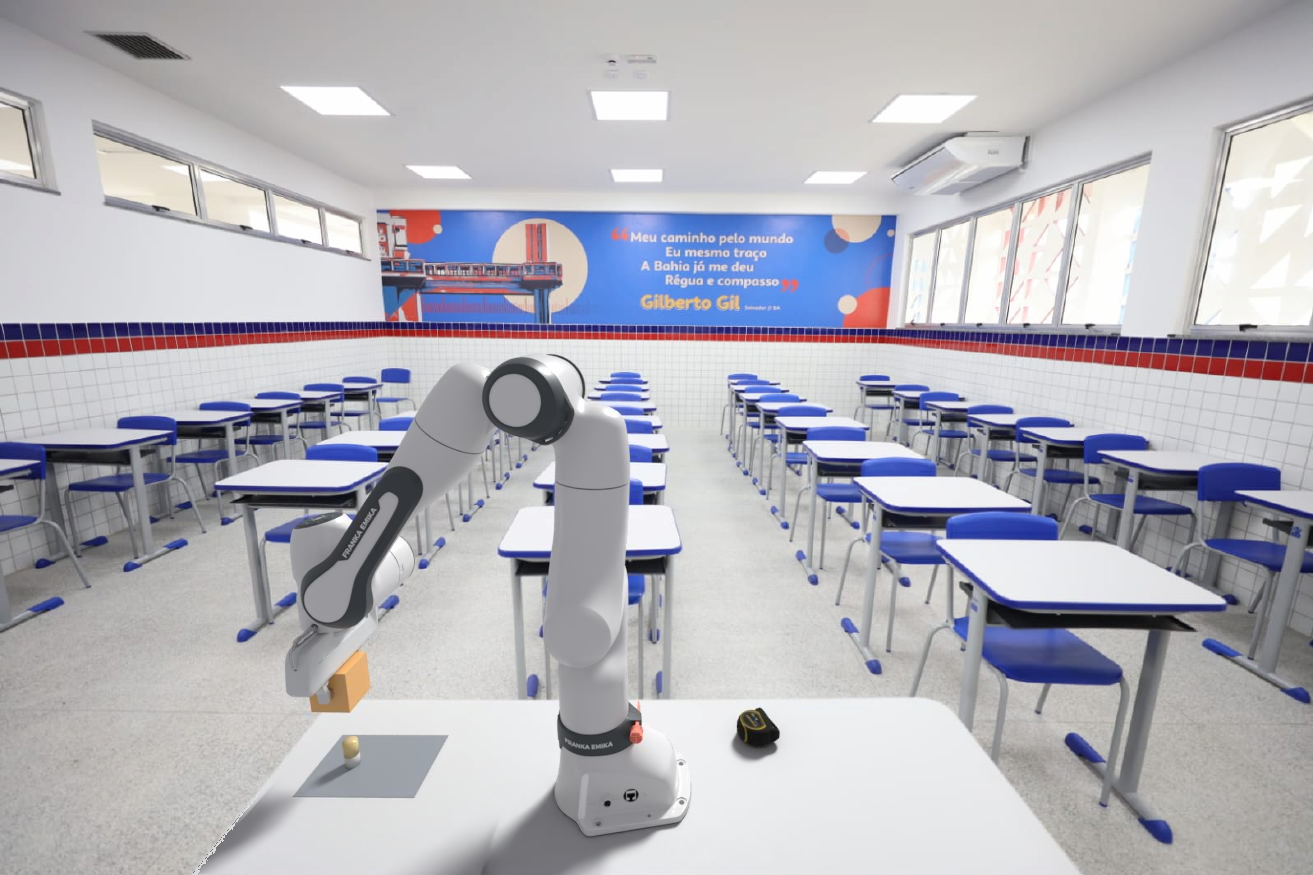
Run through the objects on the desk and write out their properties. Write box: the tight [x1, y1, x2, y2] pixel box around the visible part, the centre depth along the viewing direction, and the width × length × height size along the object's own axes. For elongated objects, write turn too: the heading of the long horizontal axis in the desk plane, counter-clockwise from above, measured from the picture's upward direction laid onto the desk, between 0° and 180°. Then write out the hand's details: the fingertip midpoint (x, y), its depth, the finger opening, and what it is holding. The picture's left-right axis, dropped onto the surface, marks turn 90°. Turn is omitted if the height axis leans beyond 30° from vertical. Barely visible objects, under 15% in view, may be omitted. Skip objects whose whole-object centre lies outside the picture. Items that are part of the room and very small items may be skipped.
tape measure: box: [736, 707, 781, 747], centre depth 104 cm, size 7×7×4 cm
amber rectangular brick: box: [308, 651, 372, 714], centre depth 94 cm, size 6×6×7 cm
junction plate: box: [292, 734, 449, 799], centre depth 97 cm, size 20×14×6 cm
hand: (340, 686), depth 95 cm, fingers closed on amber rectangular brick, 6 cm apart
